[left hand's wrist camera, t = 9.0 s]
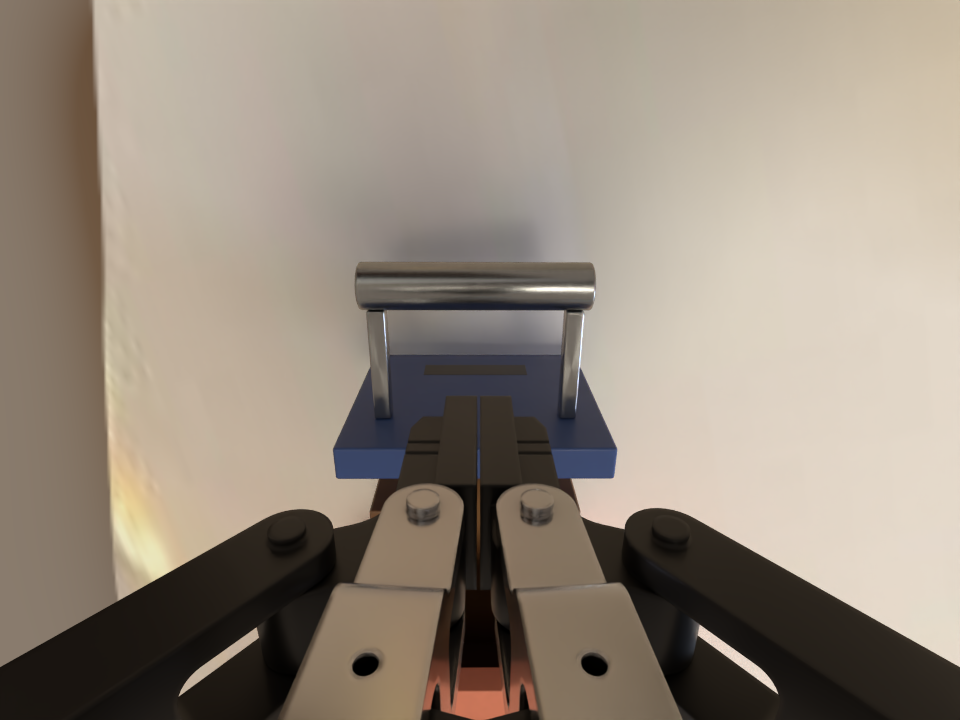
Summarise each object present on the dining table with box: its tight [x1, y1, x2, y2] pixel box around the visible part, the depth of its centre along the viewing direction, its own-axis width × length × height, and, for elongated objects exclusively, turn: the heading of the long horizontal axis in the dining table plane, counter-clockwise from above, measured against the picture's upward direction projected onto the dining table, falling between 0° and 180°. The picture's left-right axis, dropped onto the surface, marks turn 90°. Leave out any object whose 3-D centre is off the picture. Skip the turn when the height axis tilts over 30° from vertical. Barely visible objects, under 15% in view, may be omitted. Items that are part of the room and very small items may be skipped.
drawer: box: [333, 262, 617, 668], centre depth 24 cm, size 23×9×8 cm, turn 0°
